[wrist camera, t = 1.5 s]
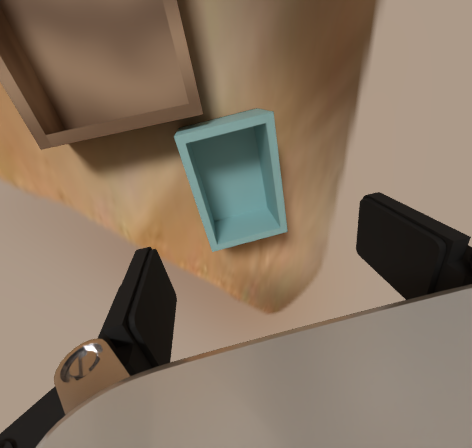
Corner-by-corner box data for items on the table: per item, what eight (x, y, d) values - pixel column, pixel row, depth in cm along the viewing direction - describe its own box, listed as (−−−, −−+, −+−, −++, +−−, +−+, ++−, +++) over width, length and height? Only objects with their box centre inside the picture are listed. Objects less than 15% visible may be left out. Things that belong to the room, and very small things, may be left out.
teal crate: (178, 128, 20) (173, 136, 16) (256, 108, 20) (273, 111, 16) (209, 224, 25) (212, 251, 21) (271, 208, 25) (287, 231, 21)
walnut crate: (-92, -151, 12) (-191, -236, 9) (132, -187, 12) (111, -281, 9) (65, 141, 19) (40, 149, 16) (202, 111, 20) (203, 114, 17)
